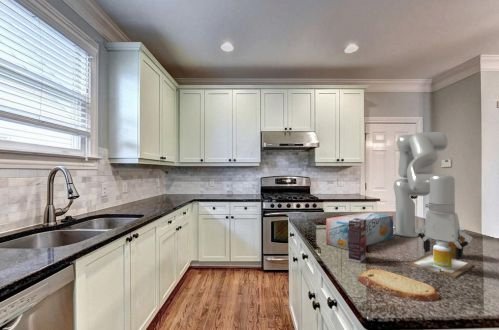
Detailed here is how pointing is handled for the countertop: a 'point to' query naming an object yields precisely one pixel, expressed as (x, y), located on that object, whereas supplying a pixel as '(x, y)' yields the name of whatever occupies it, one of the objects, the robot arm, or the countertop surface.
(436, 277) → the countertop surface
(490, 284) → the countertop surface
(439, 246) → the supplement bottle
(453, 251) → the disposable coffee cup
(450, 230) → the robot arm
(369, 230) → the soda box
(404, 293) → the bread slice
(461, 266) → the clipboard
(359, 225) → the supplement box
